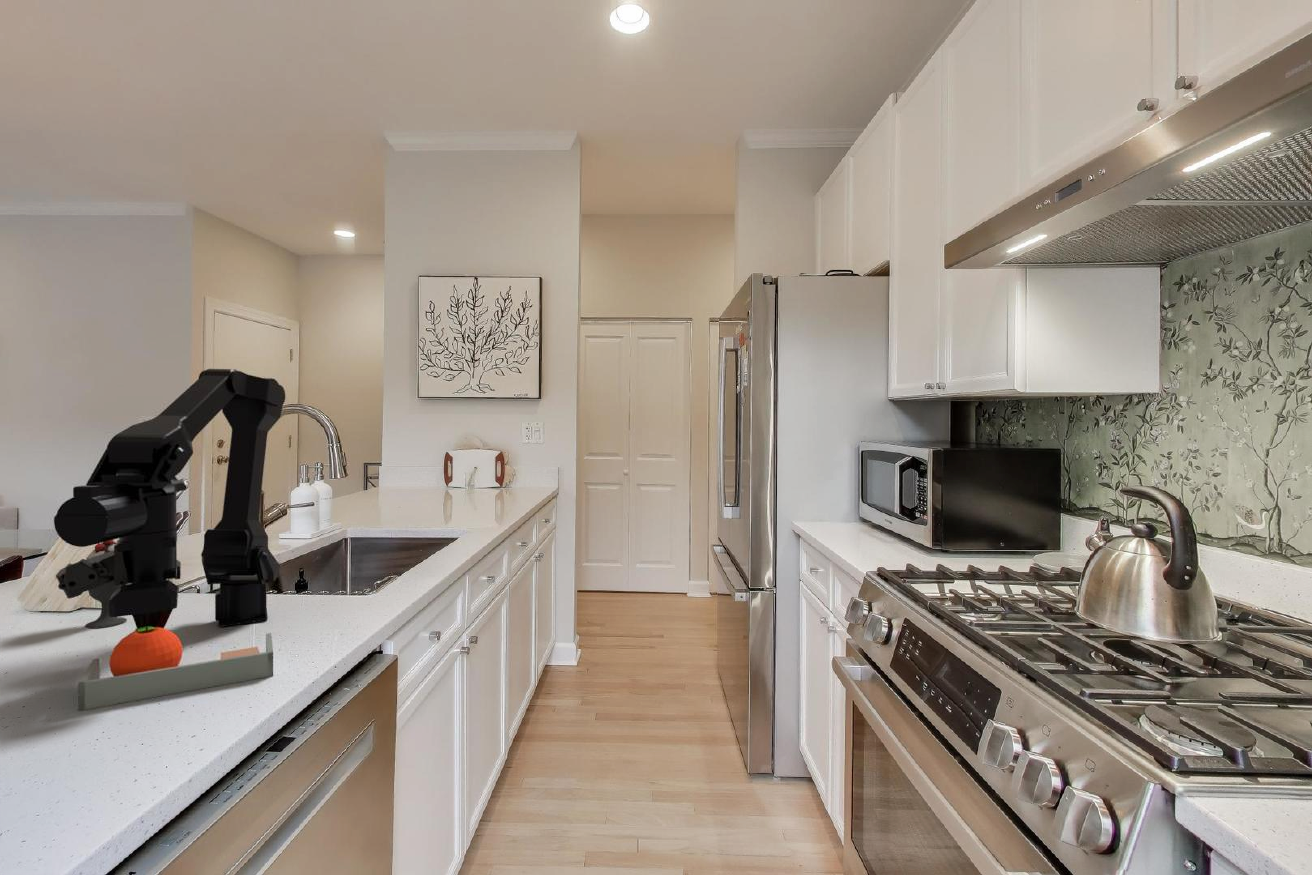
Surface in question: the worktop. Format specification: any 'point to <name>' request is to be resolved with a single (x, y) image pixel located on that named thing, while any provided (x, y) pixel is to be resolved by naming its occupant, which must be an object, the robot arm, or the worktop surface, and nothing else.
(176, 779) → the worktop surface
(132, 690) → the tray
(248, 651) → the tile
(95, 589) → the sundae
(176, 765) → the worktop surface
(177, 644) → the clementine
